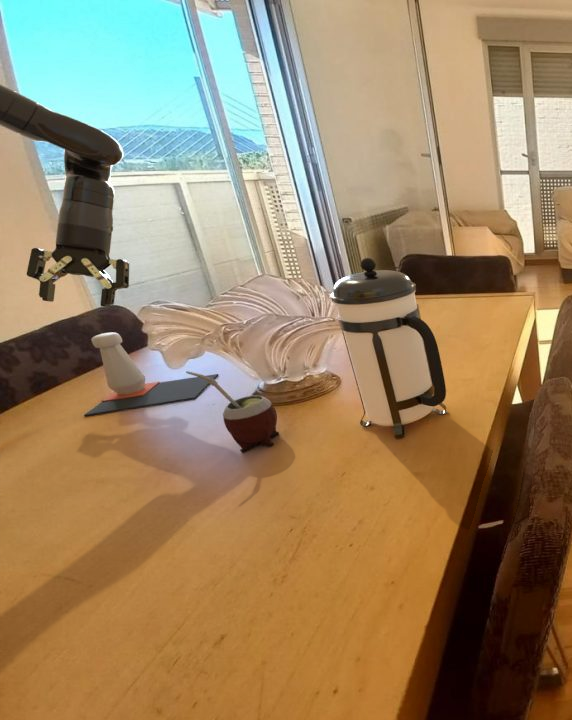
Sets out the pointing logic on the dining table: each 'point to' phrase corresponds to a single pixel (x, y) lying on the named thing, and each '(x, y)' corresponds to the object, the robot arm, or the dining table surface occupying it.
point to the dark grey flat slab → (153, 395)
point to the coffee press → (389, 347)
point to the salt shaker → (118, 365)
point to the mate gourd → (248, 419)
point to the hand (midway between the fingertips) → (77, 304)
